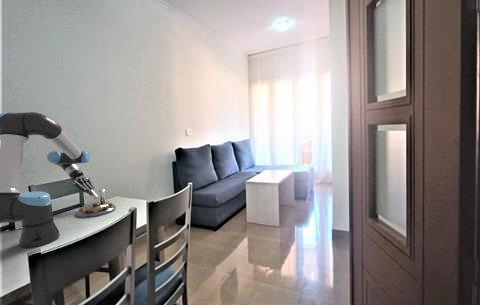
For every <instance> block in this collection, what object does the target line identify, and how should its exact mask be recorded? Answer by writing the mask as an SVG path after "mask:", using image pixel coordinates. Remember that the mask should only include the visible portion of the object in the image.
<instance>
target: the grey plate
mask: <svg viewBox="0 0 480 305" xmlns="http://www.w3.org/2000/svg"><path fill="white" fill-rule="evenodd" d="M116 208H117V206H116V204H114V203H112V207H109V209H108V210H103V211H99V212H98V213H94V212H93V213H86V214H82V212H79V209H78V210H77V211H76V212H75V215H76V217H77V218H82V219H83V218H84V219H86V218H87V219H88V218H96V217H101V216H104V215H107V214H110V213H112V212H114V211H116Z"/></svg>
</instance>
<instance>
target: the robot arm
mask: <svg viewBox="0 0 480 305" xmlns="http://www.w3.org/2000/svg"><path fill="white" fill-rule="evenodd" d="M30 136H42V137H43V138H44V139H47V140H49V141H50V142H52V143H53V144H54V145H55V146H56V148H58V149H59V150H60V151H62V152H60V151H58V150H57V151H56V150H53V151H50V152H49V153H48V154H47V156H46V157H47V161H48V162H49V163H51V164H53V165H56V166H59V167H60V168H61V169H63V171H64V172H65V173H66V174H67V175H68V176H69V178H70V180H72V182H71V185H73V186H75V187H76V188H77V189H79V190H80V191H81V192H83V193H86V194H88V195H89V196H91V197H92V199H94V200H96V199H98V197H99V194H97V193H96V191H95V190H94V189H95V185H94V184H93V181H92V179H91V176H89V177H86V176H85V175H84V172H83V171H82V170H81V169H80V168H79V166H78V165H77V164H86V163H88V162H89V161H90V158H91V157H90V156H91V155H90V153H89V152H88V151H84V150H83V151H82V150H81V149H80V148H79V147H78V146H77V145H76V144H75V143H74V141H72V140H71V139H70V138H69V137H68V135H67V134H66V133H65V132H64V131H63V127H62V126H61V125H60V124H59V123H58V122H57V121H55V120H54V119H53V118H51V117H49V116H47V115H45V114H43V113H40V112H34V111H30V112H4V113H0V224H3V223H4V224H6V223H15V222H16V223H18V222H21V226H22V227H21V228H22V229H21V232H20V237H19V240H18V242H19V243H18V244H19V247H20V248H23V249H31V248H36V247H40V246H44V245H48V244H50V243H52V242H54V241H56V240H58V239H59V238H60V230H59V228H58V227H57V225H56V223H55V222H54V215H53V213H54V212H53V206H52V204H53V202H52V199H51V195H50V193H48V192H45V191H40V190H39V191H34V190H33V191H26V192H21V191H20V190H19V188H20V187H19V186H20V179H21V171H22V170H21V169H22V165H23V164H22V162H23V155H24V148H25V144H26V143H27V142H28V141H29V140H30V139H29V138H30Z"/></svg>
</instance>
